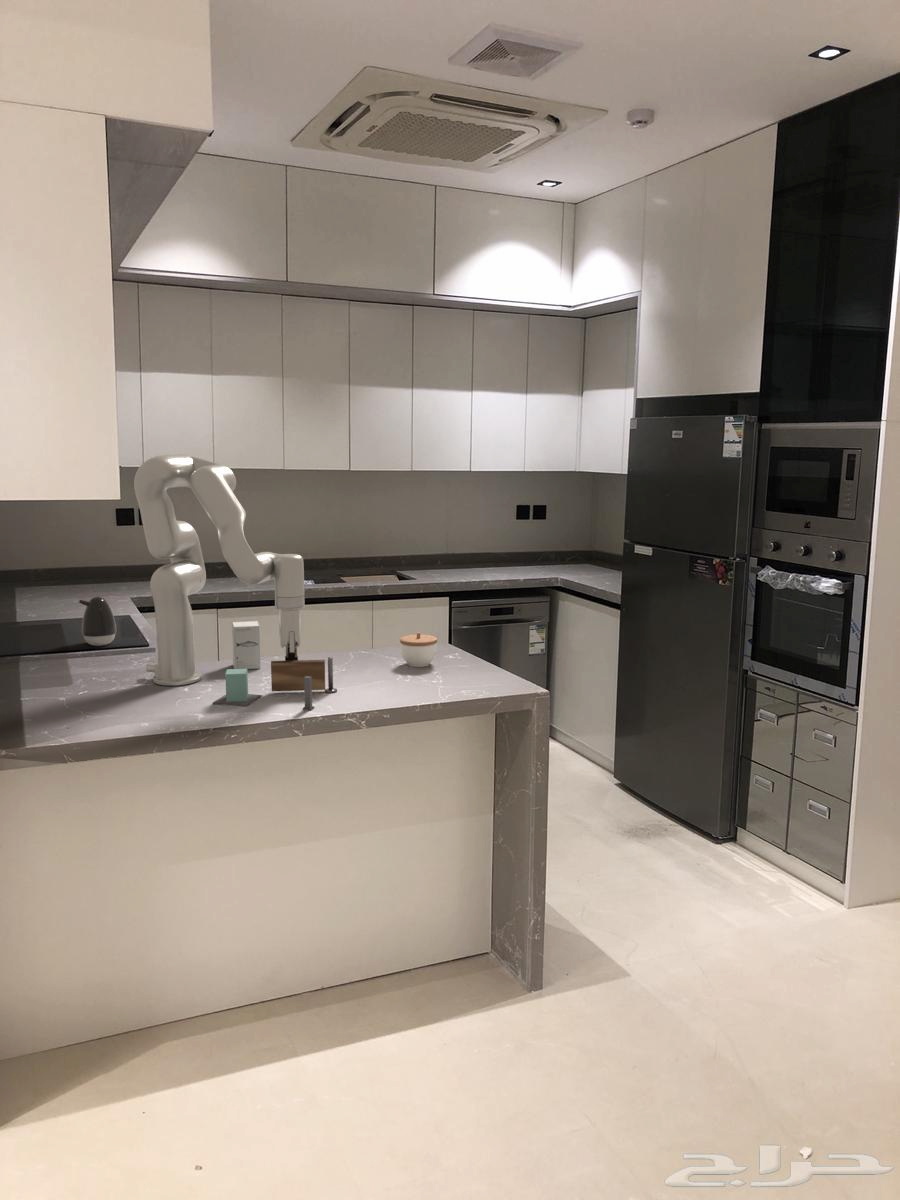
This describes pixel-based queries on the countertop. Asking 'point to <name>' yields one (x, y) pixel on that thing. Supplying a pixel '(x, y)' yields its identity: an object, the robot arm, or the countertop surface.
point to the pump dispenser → (98, 622)
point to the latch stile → (308, 693)
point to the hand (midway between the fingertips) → (291, 671)
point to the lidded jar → (418, 649)
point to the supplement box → (246, 645)
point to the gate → (297, 674)
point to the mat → (238, 703)
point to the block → (236, 685)
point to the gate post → (330, 677)
